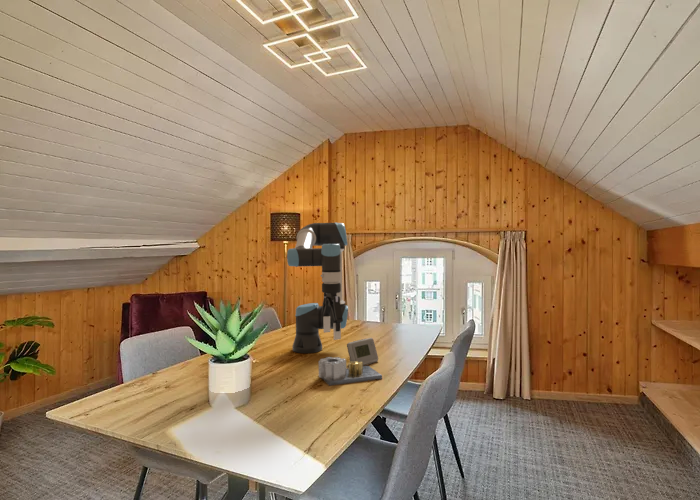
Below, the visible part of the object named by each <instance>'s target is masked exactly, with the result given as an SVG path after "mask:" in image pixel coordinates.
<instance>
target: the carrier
mask: <svg viewBox="0 0 700 500" xmlns="http://www.w3.org/2000/svg"><path fill="white" fill-rule="evenodd" d="M321 379H322V380H323V381H324V382H325V383H326V384H327V385H328V386H336V385H346V384H352V383H359V382H361V383H362V382H367V381H368V380H369V381H375V379H377V380H382V379H383V375H382V374H381V373H379V372H378V371H377V370H375V369H374V368H372V367H371V366H369V365H365V366H363V362H358V361H355V362H351V361H350V360H349V362H348V367H346V375H345V377H342V378H340V379H336V380H334V379H325V378H324V377H323V378H321ZM369 381H368V382H369Z"/></svg>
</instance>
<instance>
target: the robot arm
mask: <svg viewBox="0 0 700 500" xmlns="http://www.w3.org/2000/svg"><path fill="white" fill-rule="evenodd" d="M313 246H314V247H315V246H318V248H313ZM319 246H321V247H320V248H319ZM347 246H348V238H347V231H346V226H345V223H343V222H313V223H309V224H307V225H305V226H303V227H302V228H300V229H299V231H298V232H297V234H296V243H295V247H293V248H288V250H287V253H286V254H287V255H286V256H287V257H286V261H287V262H286V263H287V265H288V266H289V267H296V268H297V267H321V274H320V277H321V281H322V283H321V293H323V299H322V305H319V303H318V302H311V303H305V304H300V305H298V306H297V307H296V308H295V315H294V316H295V337H294V340H293V343H292V352H293V353H296V354H297V353H298V354H313V353H317V352H321V351H323V343H322V340H321V337H320V333H319V331H320V330H323V333H331V330H333V341H335V340H337V341H338V340H341V339H342V336H341V335H342V333H341V331H342V329H345V328H346V326H347V323H348V314H349V313H348V312H349V305H346V301H345V300H343V299H344V298H343V252H344V250H345V247H347Z"/></svg>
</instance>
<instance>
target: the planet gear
mask: <svg viewBox="0 0 700 500" xmlns="http://www.w3.org/2000/svg"><path fill="white" fill-rule="evenodd" d="M346 368H347V359H346V358H341V357H340V356H336V357H332V356H326V357H325V358H320V359H319V360H318V377H319V378H321V379H322V378H323V377H324V378H325V379H334V380H336V379H340V378H342V377H345V375H346Z"/></svg>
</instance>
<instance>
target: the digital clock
mask: <svg viewBox="0 0 700 500" xmlns="http://www.w3.org/2000/svg"><path fill="white" fill-rule="evenodd" d="M346 347H347V352H348V356H349V357H348V358H349V362H350V361H351V362H355V361H358V362H363V366H369V365H371V364H372V365H373V364H374V363H376V362H378V361H379V355H378V352H377V347H376V343H375V340H374V338H373V337H368V338H363V339H358V340H353V341H350V342H348V343H347V344H346Z"/></svg>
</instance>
